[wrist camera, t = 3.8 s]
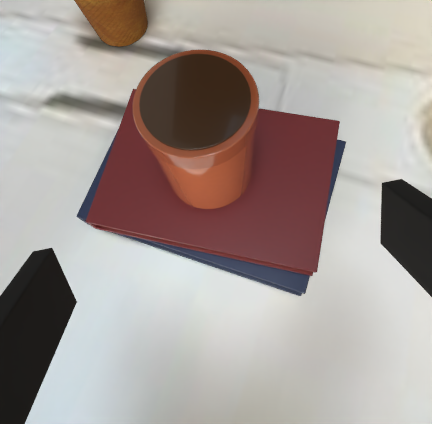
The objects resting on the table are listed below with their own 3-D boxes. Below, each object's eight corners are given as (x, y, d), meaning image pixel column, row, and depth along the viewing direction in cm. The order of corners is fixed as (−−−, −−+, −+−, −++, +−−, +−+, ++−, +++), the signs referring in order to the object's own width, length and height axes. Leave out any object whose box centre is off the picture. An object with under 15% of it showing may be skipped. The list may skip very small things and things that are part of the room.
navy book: (87, 224, 36) (76, 216, 34) (144, 102, 40) (138, 88, 38) (300, 296, 32) (305, 293, 30) (339, 154, 36) (346, 141, 34)
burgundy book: (95, 228, 33) (85, 221, 31) (139, 102, 37) (133, 88, 35) (312, 276, 30) (316, 272, 28) (333, 133, 34) (339, 121, 32)
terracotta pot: (151, 196, 31) (111, 137, 22) (184, 120, 34) (159, 36, 24) (238, 223, 30) (235, 172, 20) (266, 142, 32) (275, 62, 23)
